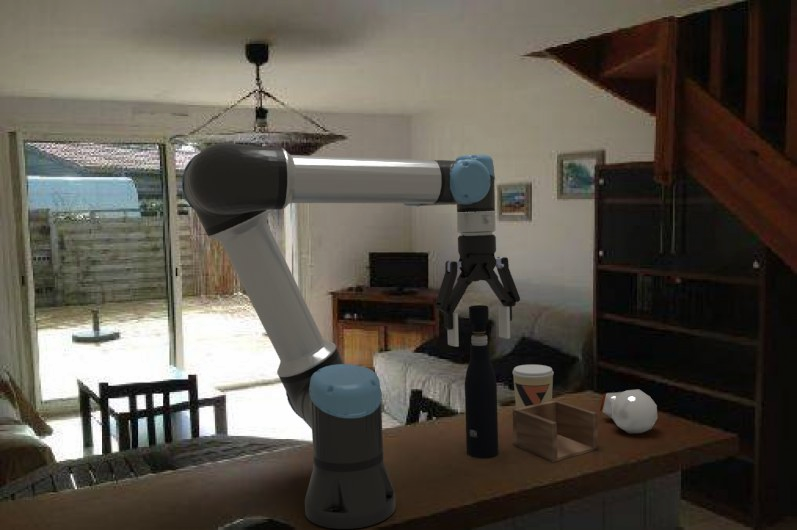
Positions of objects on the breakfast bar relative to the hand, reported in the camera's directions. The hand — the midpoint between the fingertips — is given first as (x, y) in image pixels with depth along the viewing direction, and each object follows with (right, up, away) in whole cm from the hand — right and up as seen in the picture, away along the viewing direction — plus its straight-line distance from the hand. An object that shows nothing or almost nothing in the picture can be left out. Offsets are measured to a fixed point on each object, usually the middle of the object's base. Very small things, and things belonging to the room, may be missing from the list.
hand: (479, 341), depth 138 cm
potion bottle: (+34, -21, +14) cm, 42 cm away
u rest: (+16, -22, +3) cm, 27 cm away
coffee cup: (+15, -21, +23) cm, 34 cm away
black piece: (+1, -23, +2) cm, 23 cm away
